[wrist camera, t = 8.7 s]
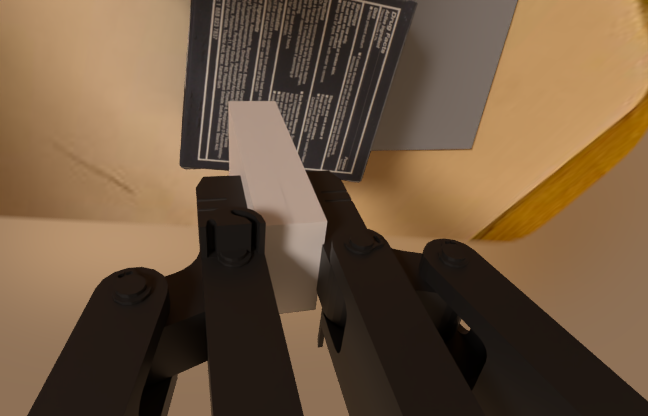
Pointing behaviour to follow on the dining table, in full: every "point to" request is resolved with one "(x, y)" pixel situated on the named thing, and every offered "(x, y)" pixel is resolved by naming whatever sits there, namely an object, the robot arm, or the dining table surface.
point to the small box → (293, 75)
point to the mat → (444, 74)
